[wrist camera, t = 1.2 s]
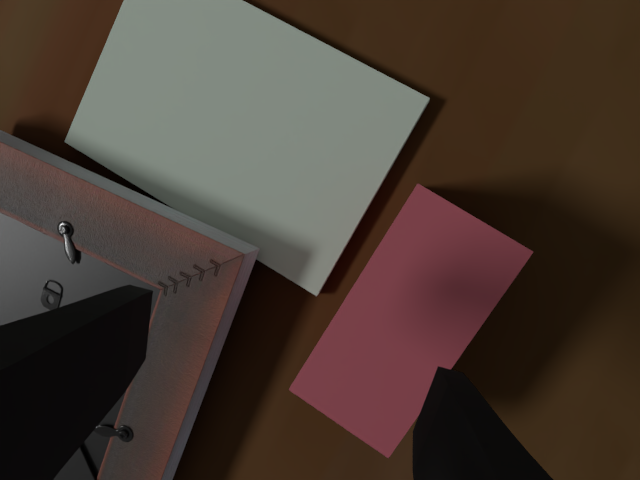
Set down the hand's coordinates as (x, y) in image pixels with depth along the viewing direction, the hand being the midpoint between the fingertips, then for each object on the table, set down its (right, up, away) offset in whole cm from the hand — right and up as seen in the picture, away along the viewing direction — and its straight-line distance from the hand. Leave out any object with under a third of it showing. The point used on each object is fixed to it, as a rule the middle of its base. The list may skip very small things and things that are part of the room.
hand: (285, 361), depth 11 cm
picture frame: (-13, -4, +14) cm, 19 cm away
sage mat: (-3, +9, +11) cm, 14 cm away
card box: (+5, 0, +10) cm, 11 cm away
